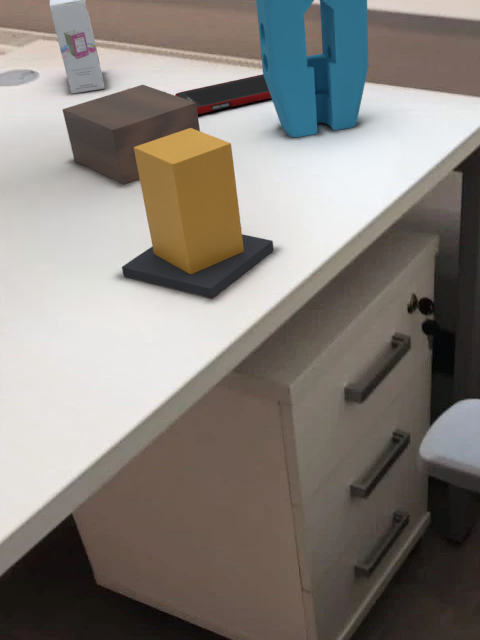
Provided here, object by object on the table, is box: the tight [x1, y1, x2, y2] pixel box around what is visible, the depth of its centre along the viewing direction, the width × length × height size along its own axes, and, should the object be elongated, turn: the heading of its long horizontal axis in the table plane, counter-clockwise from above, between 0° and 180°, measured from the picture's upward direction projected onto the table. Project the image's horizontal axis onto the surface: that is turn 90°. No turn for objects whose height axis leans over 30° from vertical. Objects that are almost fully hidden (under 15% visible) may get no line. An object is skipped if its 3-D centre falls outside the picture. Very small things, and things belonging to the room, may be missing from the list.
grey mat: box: [121, 233, 275, 299], centre depth 81 cm, size 10×10×1 cm
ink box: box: [49, 0, 105, 94], centre depth 125 cm, size 9×5×12 cm, turn 13°
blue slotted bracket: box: [255, 0, 370, 138], centre depth 102 cm, size 12×5×20 cm, turn 107°
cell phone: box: [174, 73, 272, 115], centre depth 118 cm, size 8×15×1 cm, turn 116°
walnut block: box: [61, 84, 201, 185], centre depth 102 cm, size 11×11×6 cm
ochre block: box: [134, 128, 244, 275], centre depth 78 cm, size 6×6×10 cm
